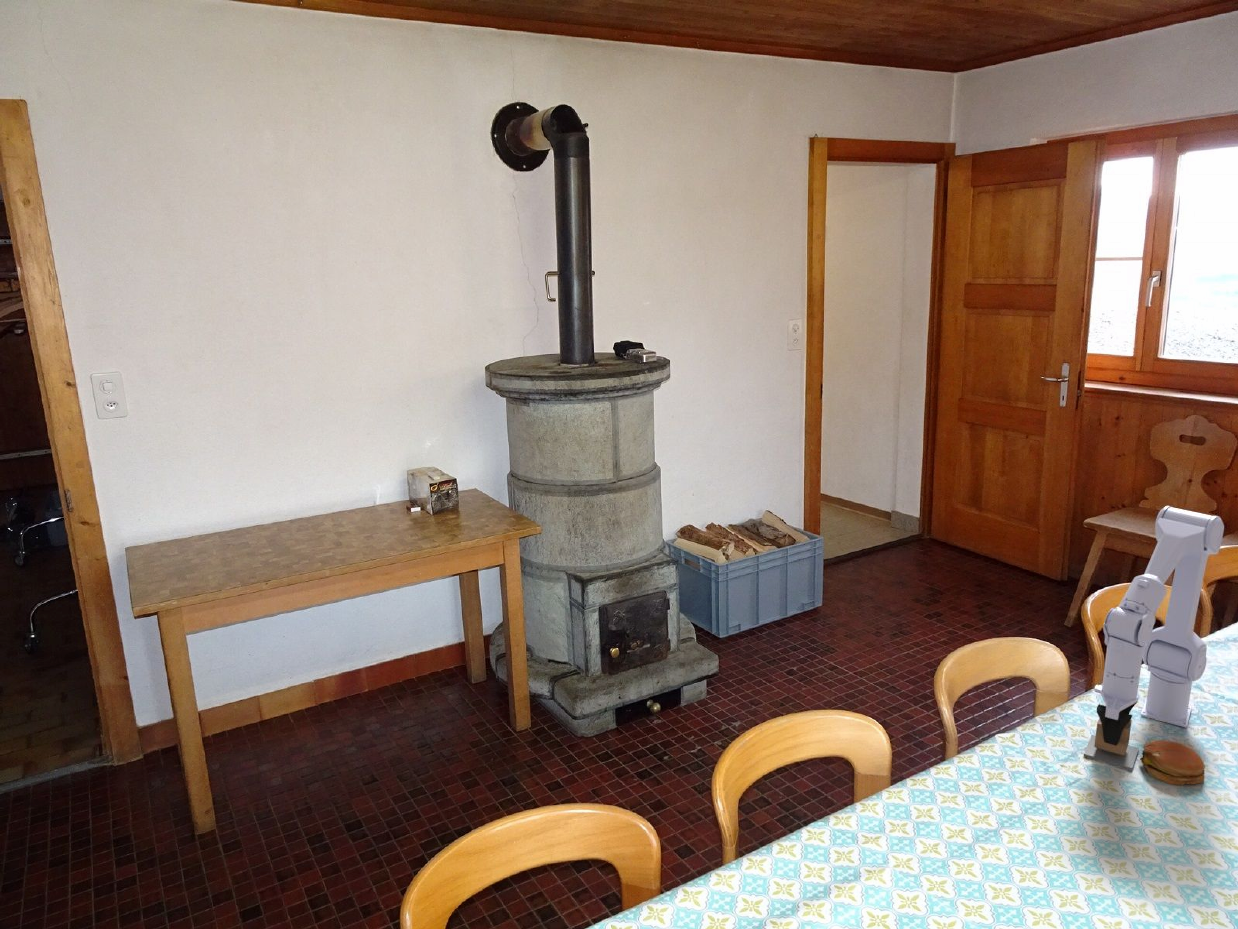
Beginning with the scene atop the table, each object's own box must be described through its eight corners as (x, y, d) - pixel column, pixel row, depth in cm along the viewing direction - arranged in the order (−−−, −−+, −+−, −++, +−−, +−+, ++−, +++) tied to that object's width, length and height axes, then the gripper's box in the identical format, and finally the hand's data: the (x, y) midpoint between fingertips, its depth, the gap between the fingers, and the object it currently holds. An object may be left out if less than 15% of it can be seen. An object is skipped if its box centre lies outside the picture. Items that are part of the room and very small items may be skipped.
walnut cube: (1099, 735, 168) (1102, 712, 166) (1128, 743, 165) (1131, 720, 163) (1094, 747, 164) (1097, 723, 163) (1124, 755, 161) (1127, 731, 160)
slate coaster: (1091, 737, 170) (1091, 734, 170) (1138, 750, 165) (1138, 748, 165) (1083, 756, 164) (1083, 753, 164) (1131, 771, 159) (1132, 768, 159)
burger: (1213, 777, 157) (1217, 755, 156) (1184, 794, 153) (1187, 771, 152) (1158, 751, 165) (1161, 729, 164) (1129, 766, 161) (1132, 744, 160)
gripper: (1104, 650, 168) (1096, 713, 172) (1090, 680, 157) (1082, 747, 161) (1146, 660, 164) (1137, 724, 167) (1135, 692, 153) (1125, 760, 156)
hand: (1113, 736), depth 164 cm, fingers closed on walnut cube, 5 cm apart
